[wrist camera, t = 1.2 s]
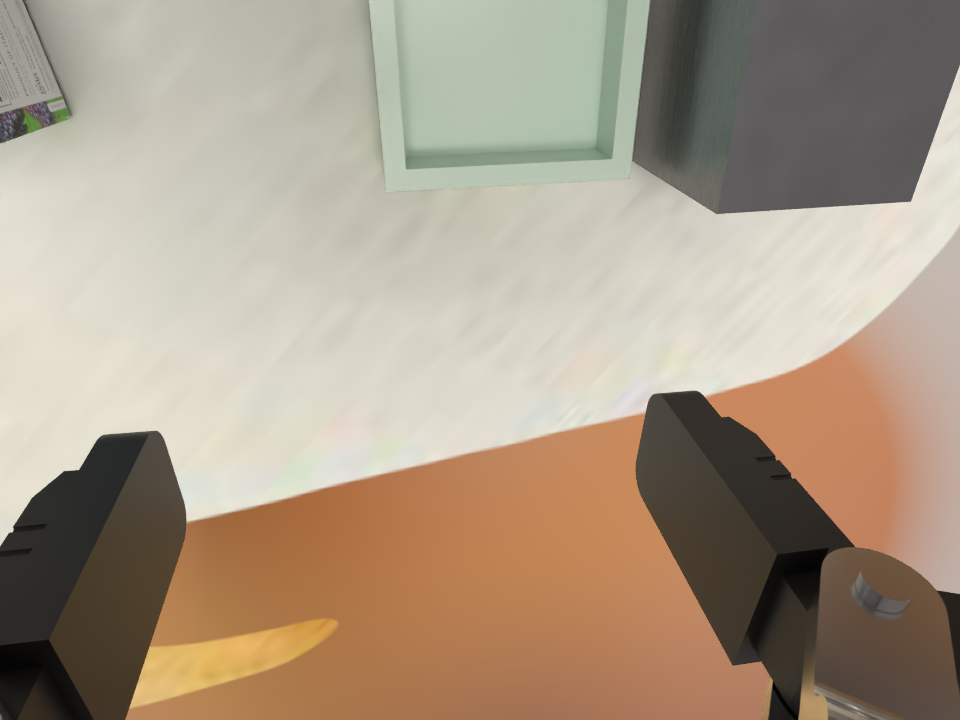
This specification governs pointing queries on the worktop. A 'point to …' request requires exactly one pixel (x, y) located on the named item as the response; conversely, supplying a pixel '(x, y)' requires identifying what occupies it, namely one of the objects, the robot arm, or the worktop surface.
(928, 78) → the box
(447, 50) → the tray
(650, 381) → the worktop surface
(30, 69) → the syrup box
